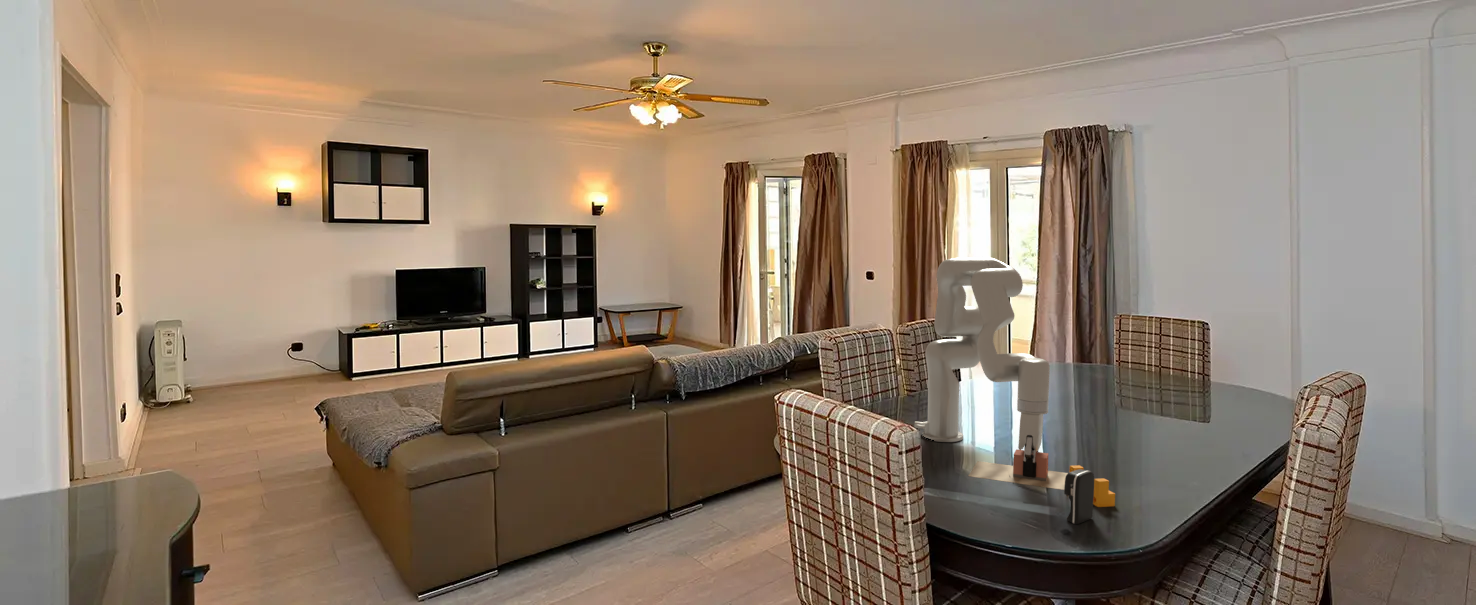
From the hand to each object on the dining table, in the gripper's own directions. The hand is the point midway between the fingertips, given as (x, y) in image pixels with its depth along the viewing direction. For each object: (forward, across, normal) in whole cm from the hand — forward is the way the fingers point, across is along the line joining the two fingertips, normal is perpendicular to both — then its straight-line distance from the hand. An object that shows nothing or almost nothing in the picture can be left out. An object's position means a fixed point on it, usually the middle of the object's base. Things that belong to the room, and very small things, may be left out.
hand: (1030, 472), depth 192 cm
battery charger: (+3, +22, +12) cm, 25 cm away
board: (+2, 0, -3) cm, 4 cm away
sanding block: (+1, 0, 0) cm, 1 cm away
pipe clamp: (+3, +5, +15) cm, 16 cm away
